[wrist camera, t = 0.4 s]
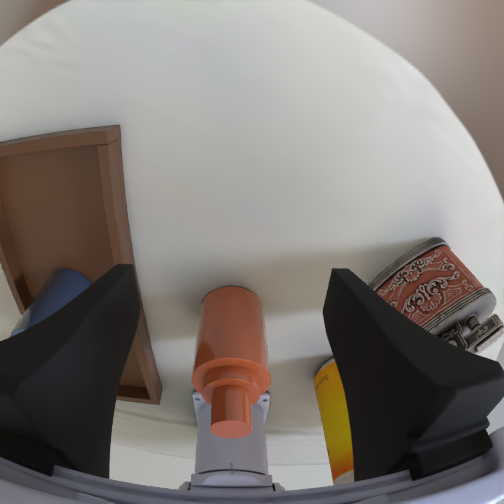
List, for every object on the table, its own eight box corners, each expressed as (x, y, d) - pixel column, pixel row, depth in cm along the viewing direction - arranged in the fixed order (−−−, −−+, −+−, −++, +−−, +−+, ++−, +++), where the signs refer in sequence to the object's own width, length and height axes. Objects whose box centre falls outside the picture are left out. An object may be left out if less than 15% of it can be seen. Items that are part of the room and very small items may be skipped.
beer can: (308, 389, 31) (331, 522, 18) (318, 352, 28) (352, 506, 15) (361, 384, 31) (396, 507, 19) (378, 347, 28) (428, 486, 15)
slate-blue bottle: (106, 319, 24) (67, 425, 15) (58, 314, 24) (10, 408, 15) (93, 269, 22) (34, 378, 13) (41, 266, 22) (-24, 361, 13)
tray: (162, 388, 30) (159, 404, 29) (66, 375, 30) (61, 389, 28) (120, 124, 17) (107, 130, 16) (-10, 144, 17) (-27, 152, 15)
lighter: (376, 309, 26) (419, 404, 17) (358, 286, 24) (404, 387, 16) (450, 256, 23) (516, 336, 15) (439, 228, 22) (514, 309, 13)
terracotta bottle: (261, 334, 26) (271, 446, 17) (201, 332, 26) (191, 445, 17) (266, 286, 24) (280, 408, 15) (198, 285, 24) (181, 406, 15)
